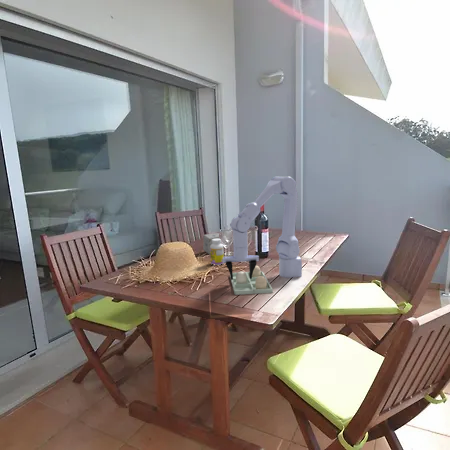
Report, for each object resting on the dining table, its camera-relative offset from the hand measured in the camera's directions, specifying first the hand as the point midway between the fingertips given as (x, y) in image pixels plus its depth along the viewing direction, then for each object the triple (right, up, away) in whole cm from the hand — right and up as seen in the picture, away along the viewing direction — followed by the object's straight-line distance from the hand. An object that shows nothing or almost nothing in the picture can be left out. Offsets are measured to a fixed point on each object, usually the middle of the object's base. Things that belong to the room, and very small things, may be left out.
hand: (241, 278), depth 135 cm
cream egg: (0, -2, 0) cm, 2 cm away
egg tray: (+4, -3, +1) cm, 5 cm away
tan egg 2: (+8, -3, -6) cm, 10 cm away
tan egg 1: (+7, -1, +8) cm, 10 cm away
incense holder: (-13, +6, +56) cm, 57 cm away
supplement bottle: (-11, +2, +32) cm, 34 cm away
